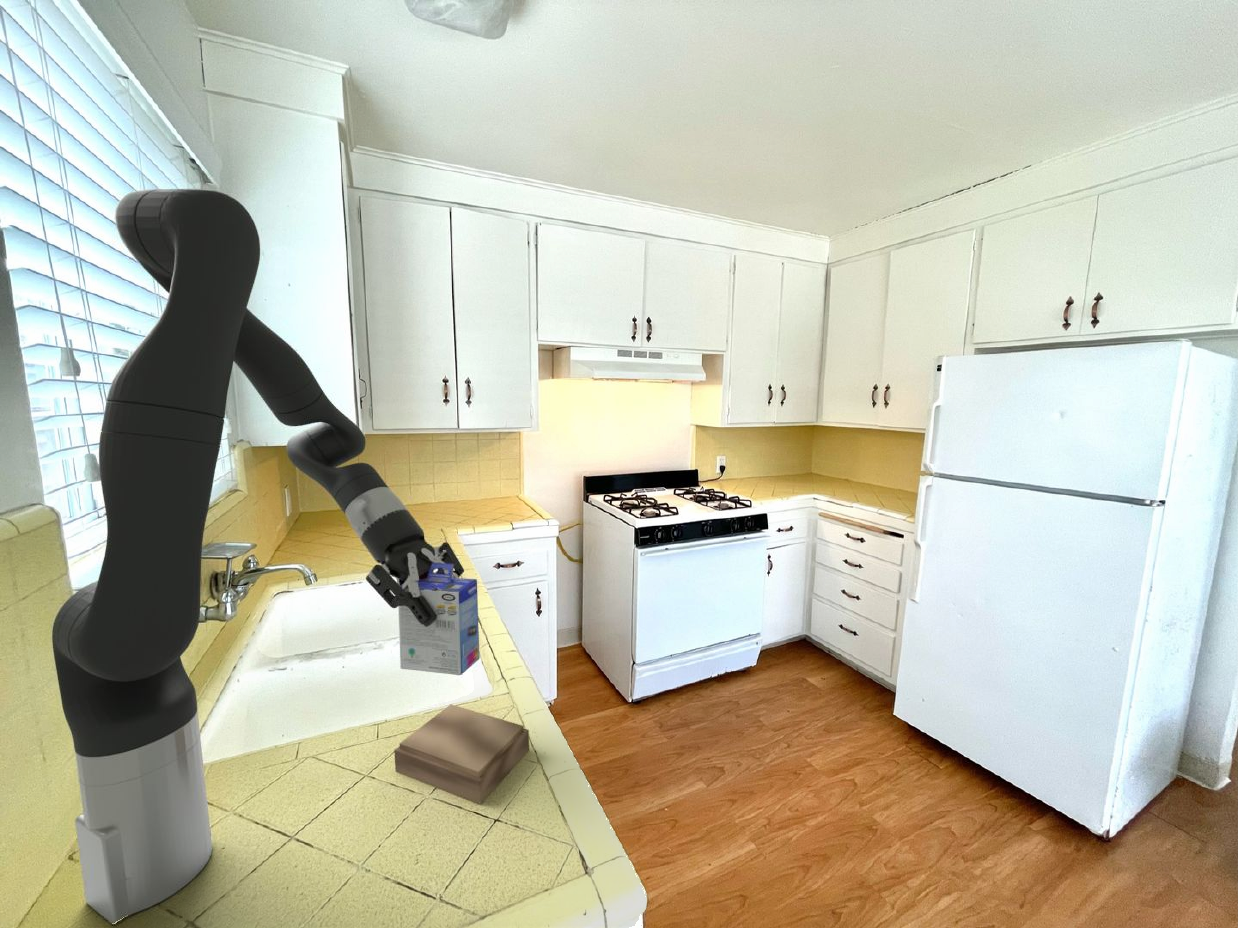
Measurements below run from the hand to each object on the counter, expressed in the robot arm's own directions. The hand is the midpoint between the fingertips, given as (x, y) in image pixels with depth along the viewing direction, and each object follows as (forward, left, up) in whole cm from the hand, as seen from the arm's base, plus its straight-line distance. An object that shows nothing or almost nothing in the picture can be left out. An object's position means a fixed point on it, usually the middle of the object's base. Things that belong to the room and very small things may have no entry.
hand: (449, 613), depth 68 cm
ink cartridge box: (0, +2, -8) cm, 8 cm away
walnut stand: (0, -1, -22) cm, 22 cm away
